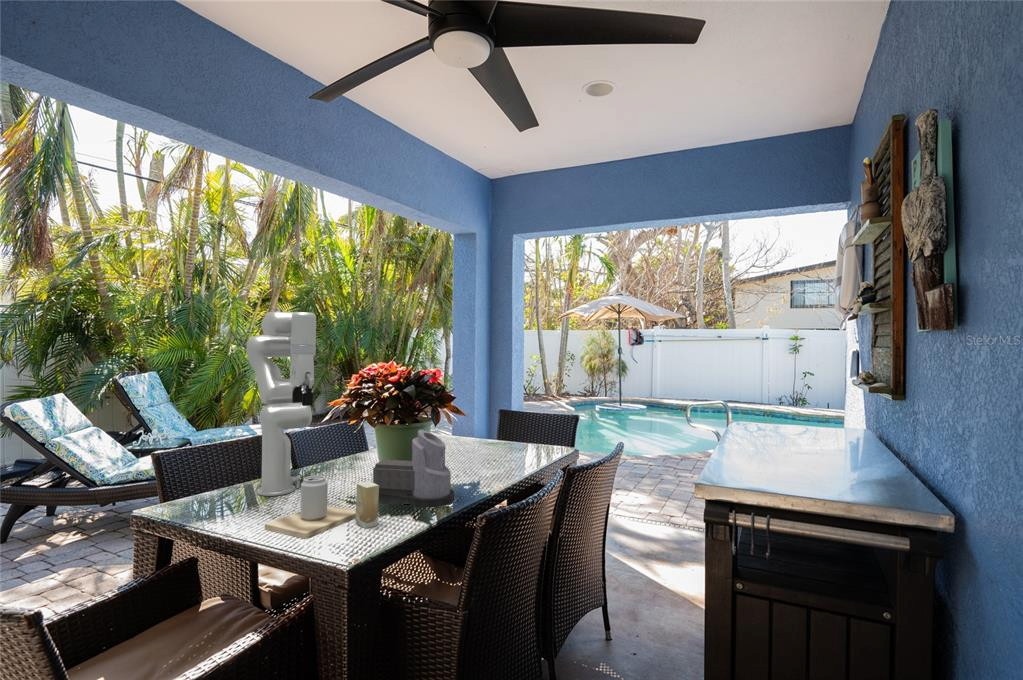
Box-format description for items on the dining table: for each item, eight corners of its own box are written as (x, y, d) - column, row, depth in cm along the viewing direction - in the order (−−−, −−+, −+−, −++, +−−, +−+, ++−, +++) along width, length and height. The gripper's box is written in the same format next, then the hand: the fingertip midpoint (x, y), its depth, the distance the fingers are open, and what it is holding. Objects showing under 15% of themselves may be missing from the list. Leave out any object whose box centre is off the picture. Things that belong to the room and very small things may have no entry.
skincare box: (354, 523, 163) (355, 482, 163) (367, 520, 166) (368, 480, 166) (365, 529, 158) (366, 487, 158) (378, 525, 161) (379, 484, 161)
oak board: (321, 508, 176) (321, 504, 176) (359, 516, 169) (360, 511, 169) (264, 529, 156) (264, 524, 156) (305, 538, 149) (305, 533, 149)
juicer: (462, 496, 193) (463, 427, 193) (451, 510, 177) (452, 435, 177) (382, 491, 198) (383, 424, 198) (364, 504, 182) (365, 431, 182)
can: (310, 512, 168) (311, 473, 168) (332, 514, 166) (332, 475, 166) (295, 520, 160) (295, 479, 160) (317, 522, 158) (317, 481, 158)
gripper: (283, 350, 178) (282, 402, 178) (299, 351, 164) (298, 407, 164) (306, 350, 183) (305, 400, 183) (324, 351, 169) (323, 406, 169)
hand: (302, 404), depth 174 cm, fingers open, 9 cm apart
